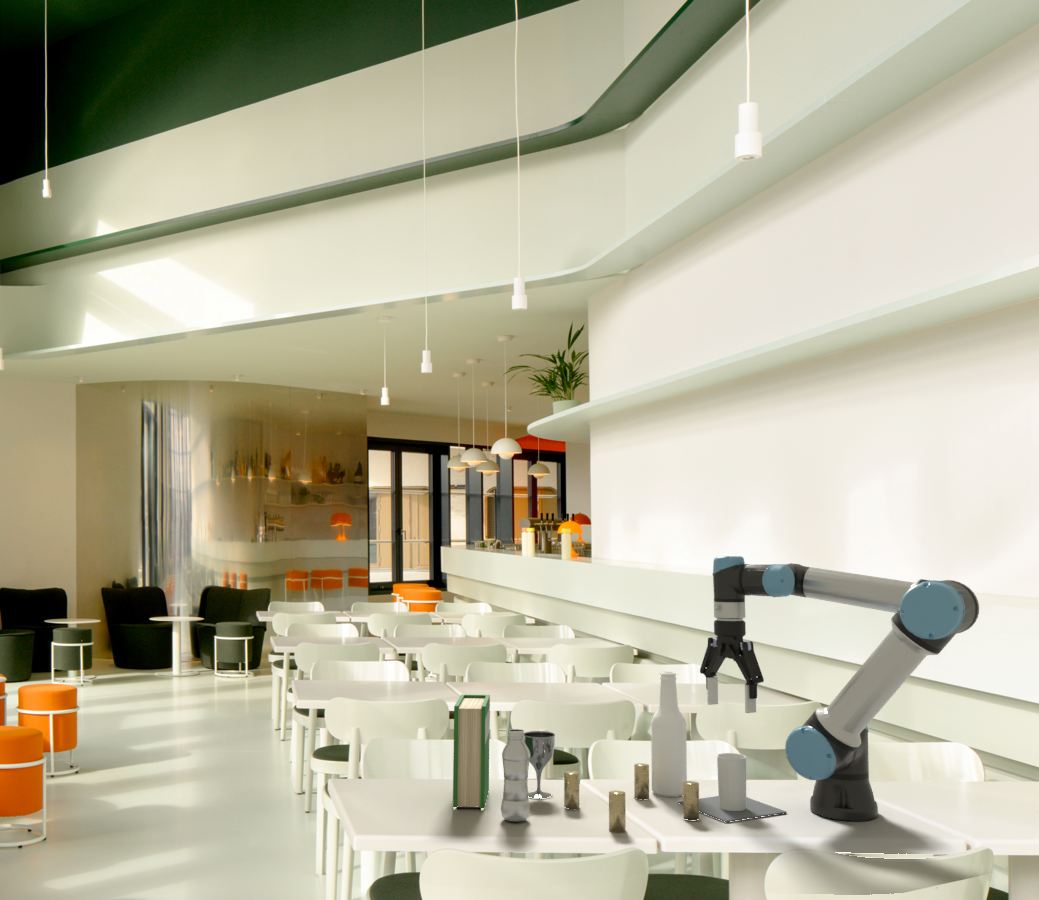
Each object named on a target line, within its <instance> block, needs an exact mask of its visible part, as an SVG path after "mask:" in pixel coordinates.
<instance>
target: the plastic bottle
mask: <svg viewBox="0 0 1039 900" xmlns="http://www.w3.org/2000/svg"><path fill="white" fill-rule="evenodd" d="M524 733H525V730H524V729H521V728H511V729H508V730H507V739H508V742H507V743H506V745H505V746H504V748H503V751H502V753H501V759H502V766H503V767H502V768H503V778H504V779H503V783H504V784H503V794H502V799H501V805H500V812H501V816H502V818H503V820H505V821H507V822H508V821H509V822H513V821H514V822H515V823H517V822H518V823H519V822H524V821H526V820H528V818H529V816H530V811H531V807H530V801H529V798H528V793H529V791H528V778H529V768H530V751H529V749H528V747H527V746H526V744H525V743H524V741H523V739H525V736H524Z"/></svg>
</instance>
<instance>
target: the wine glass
mask: <svg viewBox="0 0 1039 900" xmlns="http://www.w3.org/2000/svg"><path fill="white" fill-rule="evenodd" d="M524 736H525V739H523V741H524V743H525V744H526V746H527V747H528V749H529V751H530V762H529V764H531V766H532V767H533V769H534V770H535V774H536V791H532V792H528V796H529V797H532V798H539V799H540V798H547V797H549V796H551V794H552V793H549V792H545V791H542V790H541V779H542V773H543V771H544V768H545V767H546V766H547V765H548V764H549V762H550V761H551V759H552V758H553V755H554V751H555V745H556V743H555V741H556V735H555V733H554V732H552V731H545V730H533V731H526V732H525V731H524Z"/></svg>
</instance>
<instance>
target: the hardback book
mask: <svg viewBox="0 0 1039 900" xmlns="http://www.w3.org/2000/svg"><path fill="white" fill-rule="evenodd" d="M490 696H491V695H490V694H460V695H459V697H458V699H457V701H456V702H455V704H454V706H453V707H454V709H453V714H454V715H453V761H452V762H453V763H452V764H453V765H452V766H453V769H452V770H453V771H452V772H453V773H452V775H453V776H452V779H453V780H452V808H453V807H457V806H478V807H477V808H484V807H485V808H486V806H485V803H486V804H487V801H486V799H487V800H488V797H487V795H488V796H489V793H488V791H489V792H490V719H491V718H490V717H491V715H490V713H491V712H490V709H491V708H490V707H491V702H490V701H491V697H490Z"/></svg>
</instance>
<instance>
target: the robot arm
mask: <svg viewBox="0 0 1039 900" xmlns="http://www.w3.org/2000/svg"><path fill="white" fill-rule="evenodd" d="M712 568H713V569H712V581H713V582H712V583H713V617H714V619H715V620H714V621H713V634H714V635H715V636H714V637H708V638H707V647H706V648H705V649H706V650H705V653H704V657H703V659H702V663H701V665H700V668H699V673H700V674H702V675H704V677H705V683H706V684H705V686H706V691H707V705H710V706H711V705H712V706H713V705H719V688H718V687H719V686H718V685H719V684H718V682H719V680H718V679H719V677H718V675H717V673H718V671H719V669H720V668H721V666H722V665H723V663H724V661H725V659H729V660H732V661H734V662H735V663H736V664H737V666H738V668H739V671H740V672H741V674H742V675H743V679H744V680H745V682H746V683H745V684H744V709H745V714H752V713H753V714H754V713H757V698H758V684H760V683H764V677H763V674H762V671H761V667H760V665H759V662H758V658H757V655H756V653H755V650H754V649H755V648H754V642H753V641H744V637H745V636H746V634H747V632H746V630H747V629H746V628H747V627H746V622H745V620H744V619H745V618H746V596H756V597H757V596H758V597H772V598H782V597H783V598H784V597H790V596H795V597H800V598H809V599H814V600H820V601H826V602H830V603H836V604H843V605H848V606H855V607H860V608H864V609H872V610H877V611H882V612H888V613H894V614H893V616H892V617H891V619H890V623H891V627H892V628H891V630H890V631H889V632H888V634H886V636H885V637H884V638H883V640H882V641H881V642H880V644H878V645H877V647H876V648H875V650H873V652H872V653H871V654H870V656H869V657H867V659H866V660H865V661H864V663H863V664H862V665H861V666H860V667H859V668H858V670H857V671H856V672H855V673H854V675H852V677H851V678H850V680H849V681H848V682H847V683H846V684H845V686H844V687H843V688H842V689H841V690H840V692H839V693H838V694H837V695H836V696H835V698H834V699H833V700H832V701H831V702H830V704H829V705H828V706H819V707H817V708H816V709H815V710H814V711H813V712H812V714H811V715H810V716H809V717H808V718H807V720H806V721H805V722H804V724H802V725H801V726H798V727H796V728H795V729H792V731H791V732H790V733H789V735H788V736H787V738H786V740H785V745H784V746H785V754H786V758H787V761H788V763H789V765H790V767H791V768H792V770H793V771H795V773H797V774H798V775H799V776H800V777H802V778H804V779H807V780H810V781H815V784H814V785H813V787H814V788H813V792H812V796H810V799H809V807H810V809H809V810H810V811H811V812H812V813H813V812H814V813H813V814H815V815H817V814H818V815H817V816H820V815H821V816H820V817H823V818H826V817H827V818H826V819H831V818H832V820H837V819H838V820H840V821H846V820H849V822H861V821H862V822H864V820H865V821H871V820H874V819H877V818H878V816H879V807H878V803H877V801H876V799H875V796H874V791H873V790H872V786H871V782H870V775H869V774H870V773H869V772H870V768H869V767H870V764H869V729H868V725H869V724H870V723H871V721H872V720H873V719H874V718H875V717H876V716H877V714H878V713H879V712H880V711H881V710H882V709H883V708H884V706H885V705H886V704H887V703H888V701H890V699H891V698H892V697H893V695H895V694H896V692H897V691H898V690H899V689H900V688H901V686H902V685H904V683H905V682H906V681H907V680H908V679H909V677H910V676H912V674H913V672H914V671H916V669H917V667H919V666H920V664H921V663H922V662H923V661H924V660H925V658H927V656H937V655H938V656H939V654H940V653H941V652H942V650H944V649H945V647H946V646H947V645H948V643H950V642H951V640H952V639H953V638H954V637H955V636H956V635H957V634H961V633H964V632H965V631H967V630H970V628H972V627H973V626H974V625H975V623H977V622H976V621H977V620H978V618H979V614H980V604H979V603H980V602H979V600H978V597H977V595H976V594H975V592H974V591H973V590H972V589H971V588H970V587H969V586H967V585H966V584H964V583H963V582H962V583H961V582H960V581H956V580H951V579H950V580H949V579H945V580H934V579H933V580H930V579H924V578H923V579H922V578H921V579H919V580H917V581H916V582H913V581H912V582H911V581H906V580H898V579H893V578H887V577H878V576H872V575H866V574H858V573H852V572H845V571H838V570H833V569H827V568H821V567H820V568H818V567H810V566H805V565H802V564H799V563H792V562H791V563H785V564H779V563H778V564H773V563H772V564H750V563H749V564H747V563H746V562H745V558H744V556H741V555H739V556H738V555H737V556H736V555H734V556H732V555H727V556H725V555H719V556H718V555H717V556H715V557H714V558H713V565H712ZM870 819H871V820H870Z"/></svg>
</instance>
